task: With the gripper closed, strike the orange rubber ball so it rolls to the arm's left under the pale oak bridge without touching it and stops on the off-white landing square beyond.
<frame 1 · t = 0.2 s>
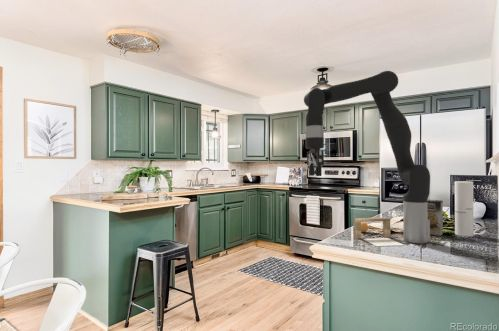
hand: (315, 175, 126), 29 cm above the countertop, tool pointing down, fingers open, 8 cm apart
ball: (362, 227, 149), on the countertop
bridge: (372, 237, 138), on the countertop
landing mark: (382, 242, 129), on the countertop
coffee box: (431, 233, 145), on the countertop
cylindrical container: (464, 235, 142), on the countertop
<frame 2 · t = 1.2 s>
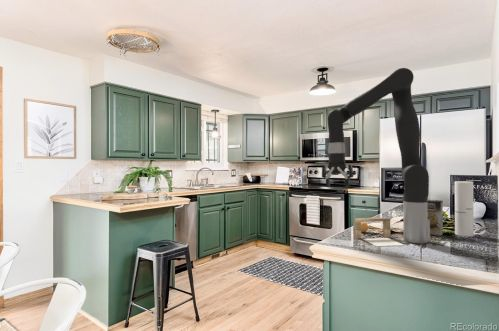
hand: (337, 186, 142), 23 cm above the countertop, tool pointing down, fingers open, 8 cm apart
nothing on the countertop moved.
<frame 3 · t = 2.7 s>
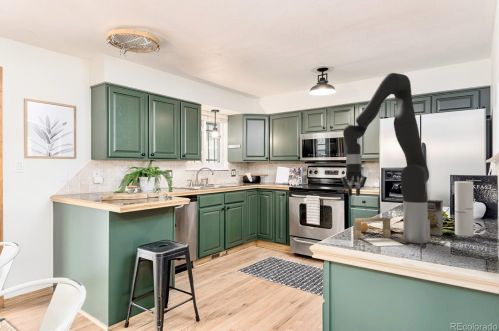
hand: (353, 195, 159), 17 cm above the countertop, tool pointing down, fingers open, 3 cm apart
nothing on the countertop moved.
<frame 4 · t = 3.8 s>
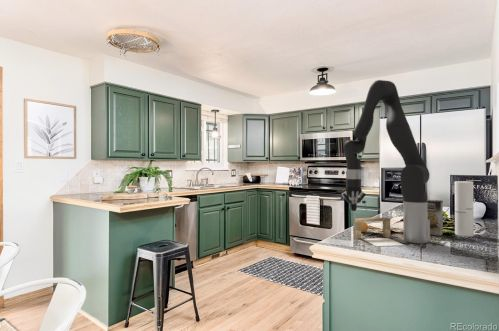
hand: (353, 210, 159), 9 cm above the countertop, tool pointing down, fingers closed
nothing on the countertop moved.
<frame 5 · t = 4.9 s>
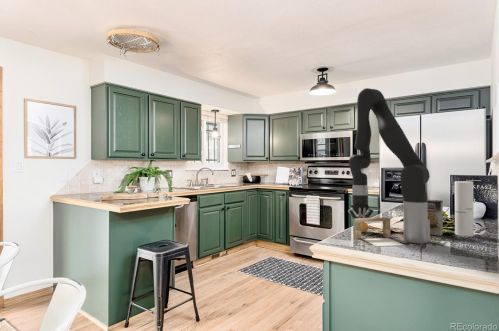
hand: (360, 228, 153), 1 cm above the countertop, tool pointing down, fingers closed
ball: (363, 227, 149), on the countertop, touching gripper
everything else where it was.
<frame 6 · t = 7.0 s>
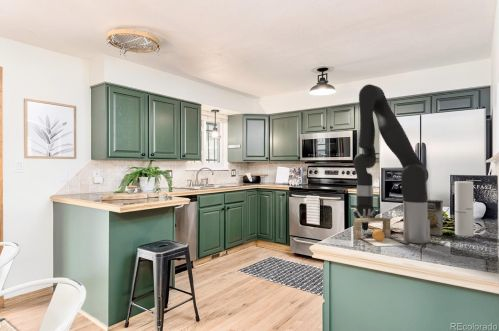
hand: (364, 230, 147), 2 cm above the countertop, tool pointing down, fingers closed
ball: (378, 235, 132), on the countertop
everything else where it was.
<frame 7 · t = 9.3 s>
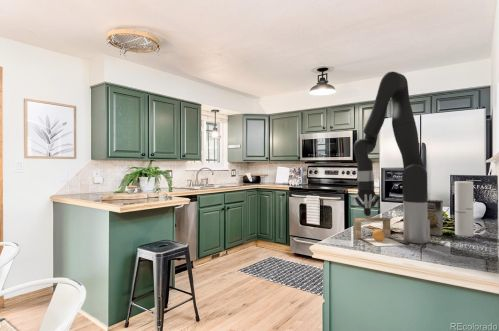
hand: (367, 215, 146), 9 cm above the countertop, tool pointing down, fingers closed
nothing on the countertop moved.
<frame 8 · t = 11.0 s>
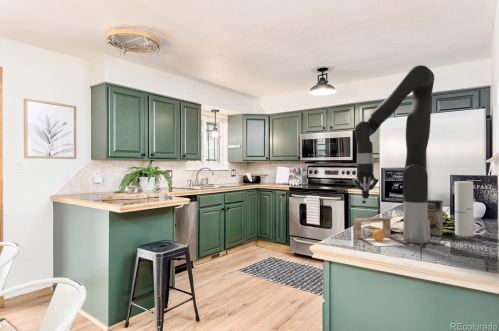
hand: (365, 198, 146), 17 cm above the countertop, tool pointing down, fingers closed
nothing on the countertop moved.
at the end: ball 2.4 cm from the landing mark (horizontally); ball never touched bridge; ball at rest at the end (0.0 cm/s) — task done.
